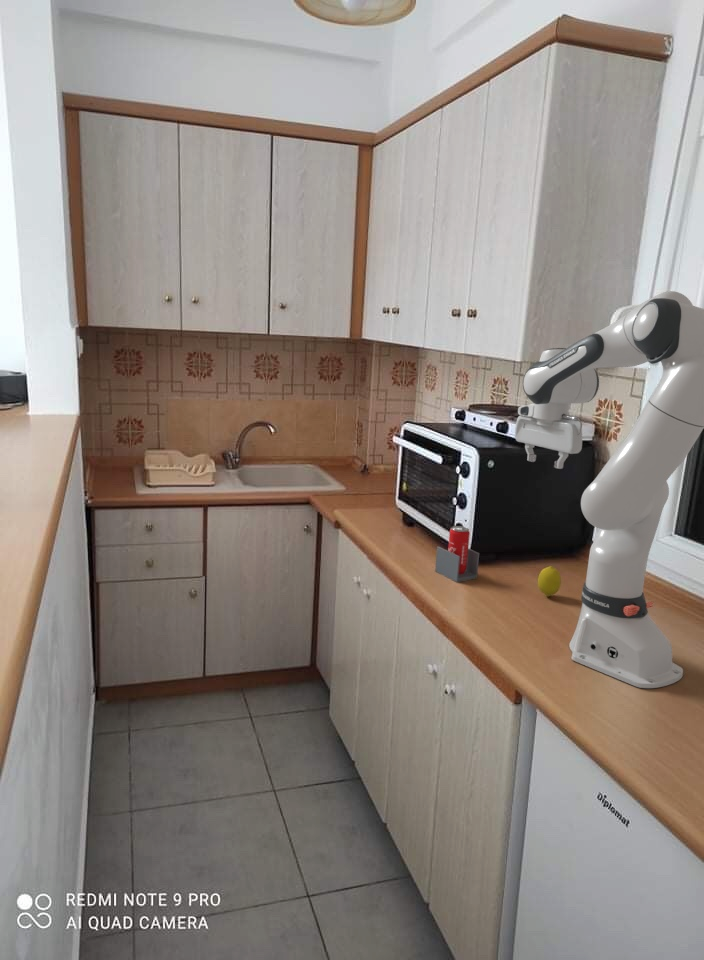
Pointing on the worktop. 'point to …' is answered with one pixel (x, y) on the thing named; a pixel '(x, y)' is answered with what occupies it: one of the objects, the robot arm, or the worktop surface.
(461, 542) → the beverage can
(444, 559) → the bracket
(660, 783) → the worktop surface
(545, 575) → the lemon
